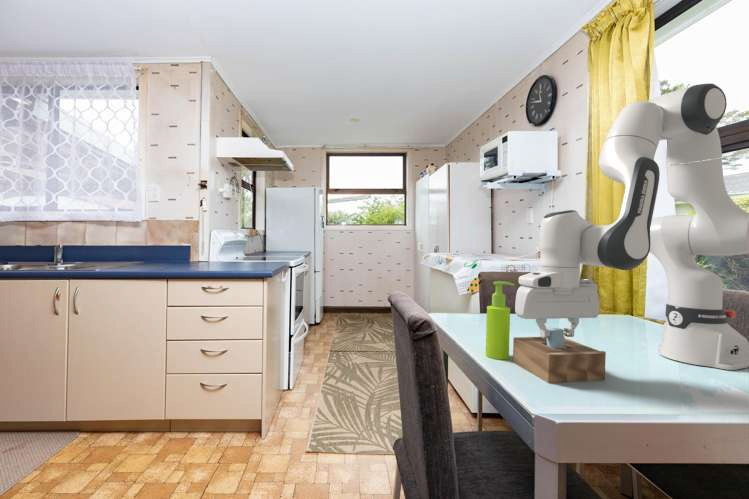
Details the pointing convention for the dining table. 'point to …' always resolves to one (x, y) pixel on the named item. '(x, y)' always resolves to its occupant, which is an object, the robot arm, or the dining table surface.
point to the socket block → (559, 360)
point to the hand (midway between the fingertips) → (556, 336)
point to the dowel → (556, 338)
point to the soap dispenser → (498, 325)
